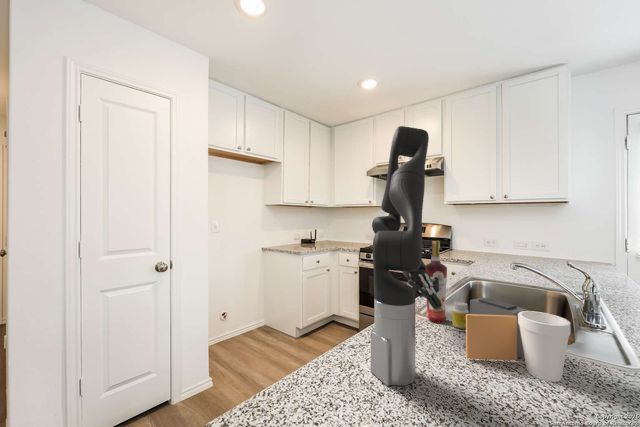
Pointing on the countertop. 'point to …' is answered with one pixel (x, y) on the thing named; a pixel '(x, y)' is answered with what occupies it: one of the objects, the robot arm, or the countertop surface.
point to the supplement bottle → (460, 316)
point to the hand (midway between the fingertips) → (438, 307)
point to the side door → (491, 337)
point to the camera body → (498, 308)
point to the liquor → (441, 273)
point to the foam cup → (544, 343)
